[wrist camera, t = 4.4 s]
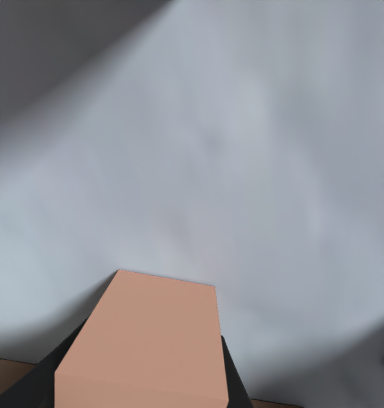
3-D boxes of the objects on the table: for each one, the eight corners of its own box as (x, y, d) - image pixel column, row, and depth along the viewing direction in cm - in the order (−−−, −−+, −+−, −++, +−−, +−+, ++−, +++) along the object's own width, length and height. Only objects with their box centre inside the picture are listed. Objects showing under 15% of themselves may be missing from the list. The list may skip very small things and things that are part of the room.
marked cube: (214, 286, 11) (229, 404, 6) (196, 358, 12) (196, 501, 7) (118, 269, 11) (52, 376, 6) (111, 344, 12) (52, 480, 7)
